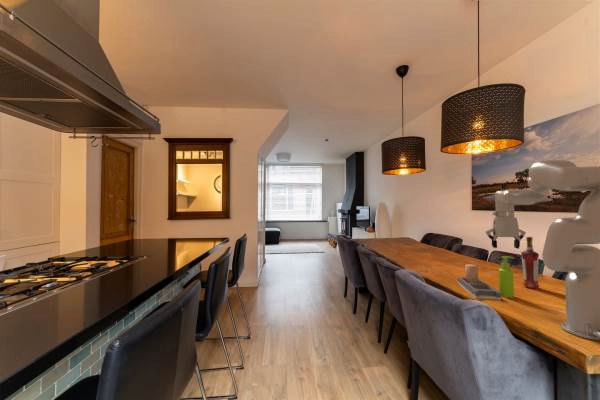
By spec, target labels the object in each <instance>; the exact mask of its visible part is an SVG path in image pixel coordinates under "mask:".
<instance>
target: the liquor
mask: <svg viewBox="0 0 600 400" xmlns="http://www.w3.org/2000/svg"><path fill="white" fill-rule="evenodd" d="M525 241H526V248H525V249H526V250H524V251H522V252H520V253H521V263H522V264H521V265H522V272H523V274H522V275H523V283H522V284H523V286H524V287H525V288H527V289H532V290H534V289H535V290H536V289H538V288H539V287H540V285H539V266H540V263H539V262H540V261H539V259H540V254H539V253H538V252H536V251H535V250H534V246H533V241H534V240H533V237H532V236H526V238H525Z"/></svg>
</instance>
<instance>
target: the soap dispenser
mask: <svg viewBox="0 0 600 400" xmlns="http://www.w3.org/2000/svg"><path fill="white" fill-rule="evenodd" d="M500 257H501V259H503V260H502V262H501V264H500V266H501V268H498V291H499V292H501V297H504V298H508V299H511V298H512V299H513V298H514V297H515V287H514V286H515V284H514V270H512V269H511V268H510V267H511V265H510V264H511V263H509V262H508V259H514V260H515V257H513V256H511V255H510V256H509V255H504V256H502V255H501V256H500Z"/></svg>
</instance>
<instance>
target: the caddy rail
mask: <svg viewBox="0 0 600 400" xmlns="http://www.w3.org/2000/svg"><path fill="white" fill-rule="evenodd" d="M464 266H465V268H464V269H465V272H464V273H465V276H464V277H463V276H462V277H461V276H457V283H458V284H457V285H459V284H460V285H459V286H461V287H462V288H463V289H464V290H465V291H467V293H469V294H470V295H471V296H472V297H474V298H475V299H479V300H480V299H481V300H495V301H496V300H497V301H501V300H502V296H501V292H499V289H498V290H497V289H496V288H494V287H493V286H491V284H488V283H487V282H485V281H484V280H482V279H481V278H479V266H478V265H477V264H471V263H470V264H469V263H467V264H465V265H464Z"/></svg>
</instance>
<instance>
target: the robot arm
mask: <svg viewBox="0 0 600 400" xmlns="http://www.w3.org/2000/svg"><path fill="white" fill-rule="evenodd" d="M528 177H529V178H528V179H527V186H528V187H529V189H528V188H524V189H507V190H498V191H496V192H495V194H494V196H495V198H494V199H495V201H494V202H495V210H494V211H495V212H494V211H493V212H492V215H493V216H495V217H493V222H492V228H491V229H487V230H486V231H485V234H486V235H487V238H488V239H490V240H491V246H492V248H494V249H497V248H498V240H497V239H498V238H513V239H514V240H513V247H514V248H515V249H520V246H521V243H520V241H521V240H522V239H523V238H524V237H525V235H526V233H527V232H526V231H524V230H522V229H521V228H520V227H519V222H518V219H517V217H515V206H529V205H534V204H537V203H539V202H541V201H543V200H545V199H546V198H547V197H548V196H549V193H550V191H551V190H557V191H562V192H585V191H587V192H590V194H588V195H586V197H585V198H584V199H583V200H582V201H581V203H580V205H579V209H578V211H577V215H576V216H574V217H561V218H557V219H555V220H554V221H552V222H551V224H549V227H548V229H547V233H546V235H545V240H544V243H543V245H544V246H543V250H542V254H541V257H542V261H543V263H544V266H545V267H546V268H547V269H548V270H550V271H552V272H553V271H554V272H557V273H558V272H561V273H567V272H568V273H567V275H566V277H565V282H564V284H565V286H564V288H565V290H564V291H565V310H566V311H565V315H566V321H563V322H561V323H560V328H561V329H562V330H564V331H565V332H567V333H568V334H571V335H574V336H576V337H577V336H578V337H580V338H584V339H587V340H591V341H592V340H593V341H600V248H599V247H595V246H593V245H597V244H600V166H577V165H576V163H574V162H572V161H570V160H565V159H563V160H562V159H556V160H555V159H553V160H549V159H548V160H539V161H536V162H535V163H533V164H532V165H531V166H530V168H529V170H528ZM491 233H492V234H491Z"/></svg>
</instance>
